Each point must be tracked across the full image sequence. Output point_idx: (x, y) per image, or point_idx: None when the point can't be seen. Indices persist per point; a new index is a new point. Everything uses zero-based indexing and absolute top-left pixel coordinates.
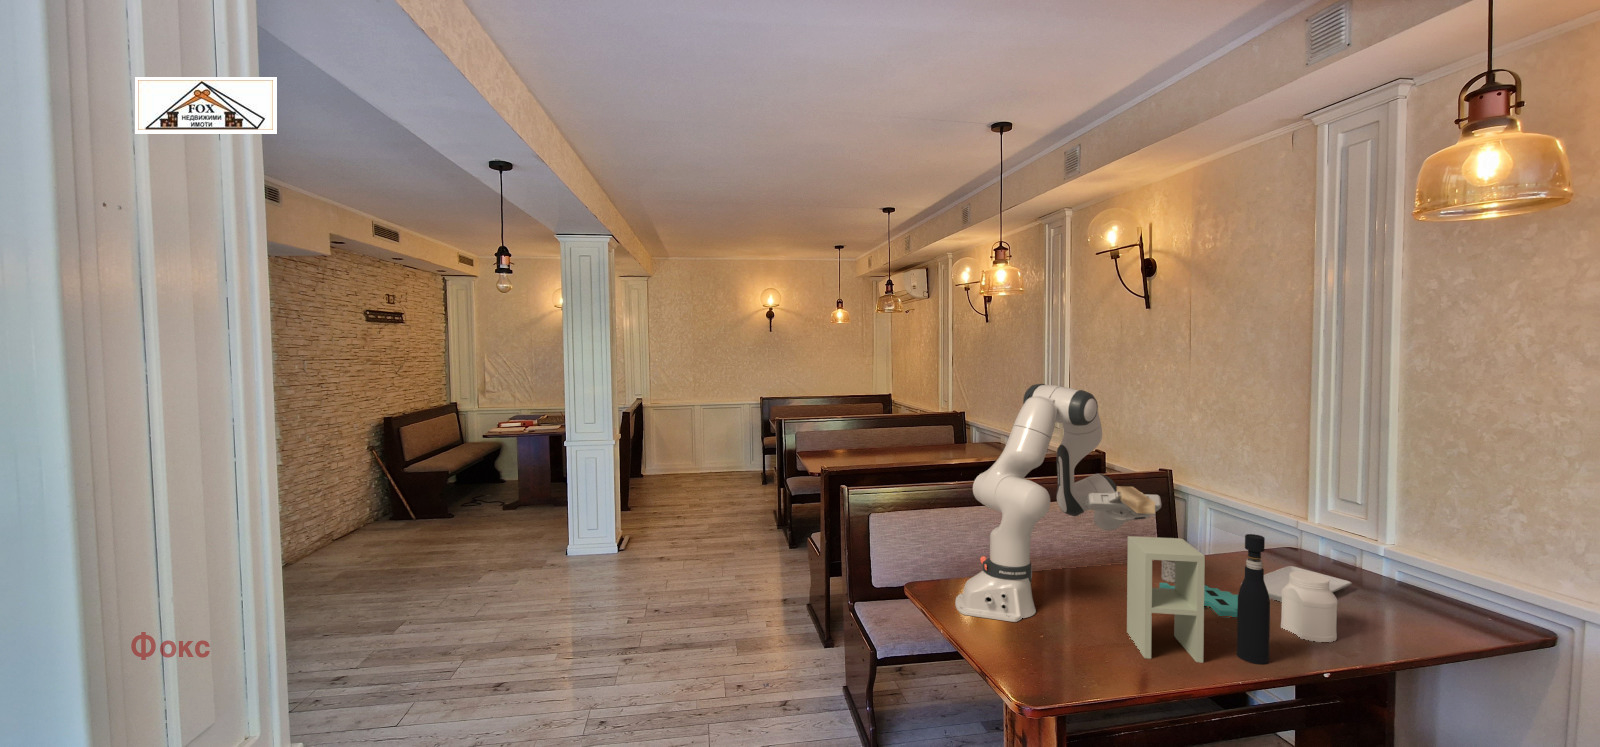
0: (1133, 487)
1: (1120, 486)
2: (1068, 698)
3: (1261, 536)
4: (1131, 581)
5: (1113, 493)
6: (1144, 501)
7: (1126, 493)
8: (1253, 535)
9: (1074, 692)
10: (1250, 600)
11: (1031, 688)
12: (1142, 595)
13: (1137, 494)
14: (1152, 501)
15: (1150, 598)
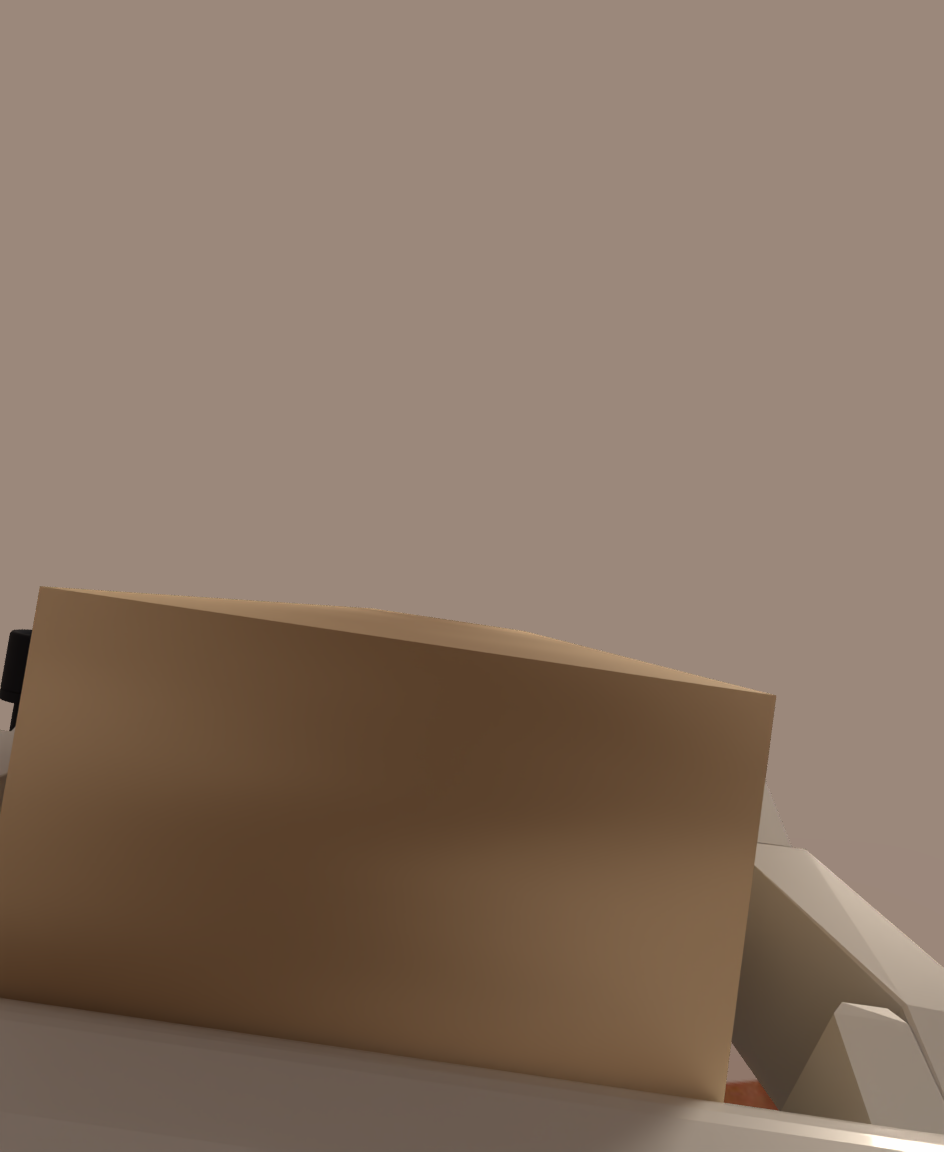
0: (134, 593)
1: (604, 670)
2: (747, 1087)
3: (20, 631)
4: None
5: (812, 868)
6: (458, 621)
7: (565, 642)
8: (28, 639)
9: (736, 1104)
10: None
11: None
12: None
13: (418, 619)
14: (384, 610)
15: None
